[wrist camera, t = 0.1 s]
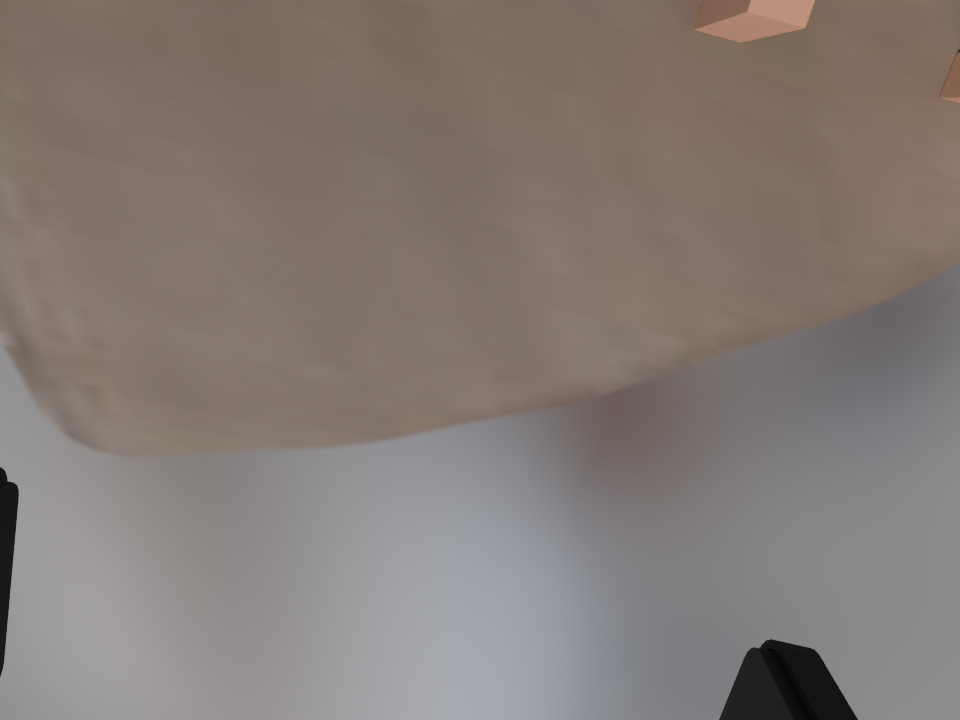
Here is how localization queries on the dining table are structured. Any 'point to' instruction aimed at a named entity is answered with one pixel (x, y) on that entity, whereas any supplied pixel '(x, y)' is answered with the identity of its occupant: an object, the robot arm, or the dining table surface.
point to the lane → (778, 26)
